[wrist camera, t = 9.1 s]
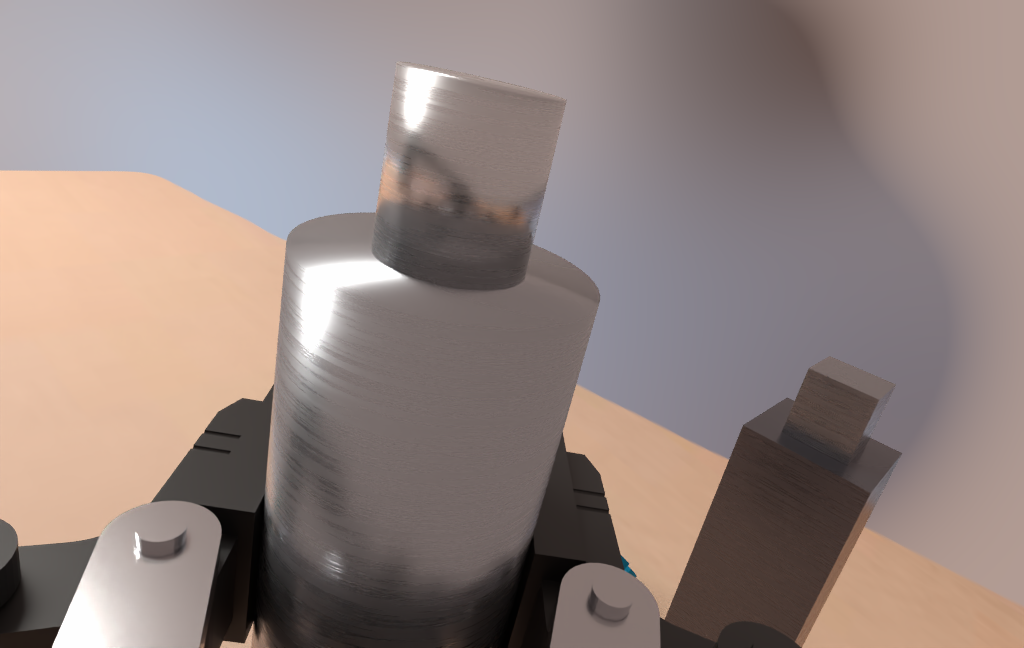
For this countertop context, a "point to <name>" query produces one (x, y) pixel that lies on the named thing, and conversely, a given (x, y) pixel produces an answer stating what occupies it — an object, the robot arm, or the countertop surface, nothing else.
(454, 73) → the round rod
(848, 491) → the square bar
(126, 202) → the countertop surface
